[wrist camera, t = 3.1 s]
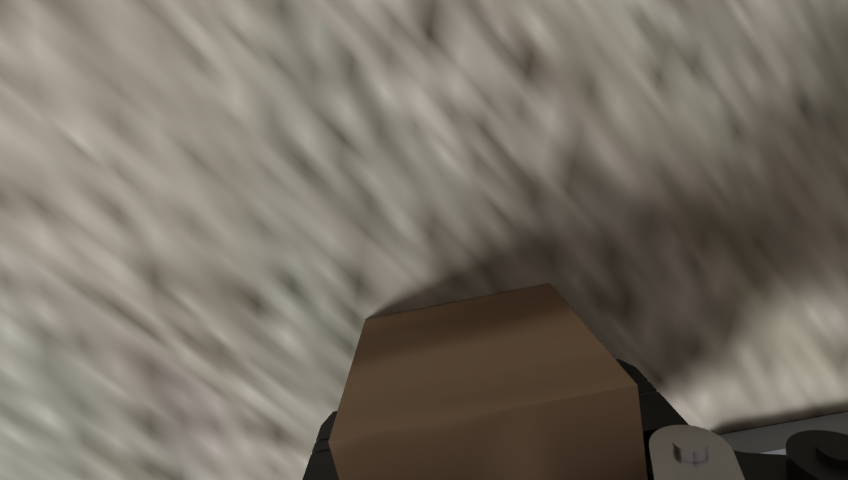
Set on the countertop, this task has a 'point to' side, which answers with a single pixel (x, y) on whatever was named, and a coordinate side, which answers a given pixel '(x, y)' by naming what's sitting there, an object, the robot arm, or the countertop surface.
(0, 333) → the countertop surface
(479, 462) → the walnut block
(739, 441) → the plate
